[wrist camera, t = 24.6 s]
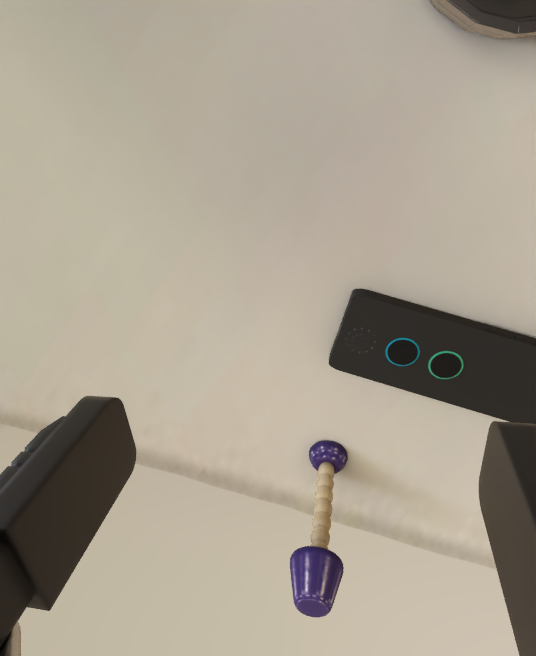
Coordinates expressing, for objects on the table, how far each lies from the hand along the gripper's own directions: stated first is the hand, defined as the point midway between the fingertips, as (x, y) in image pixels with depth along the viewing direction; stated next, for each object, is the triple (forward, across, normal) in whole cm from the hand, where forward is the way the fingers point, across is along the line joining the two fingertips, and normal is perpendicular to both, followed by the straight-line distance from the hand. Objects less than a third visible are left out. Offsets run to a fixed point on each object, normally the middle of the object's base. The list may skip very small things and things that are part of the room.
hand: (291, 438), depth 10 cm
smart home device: (+30, -9, +16) cm, 35 cm away
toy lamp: (+30, +2, +30) cm, 43 cm away
